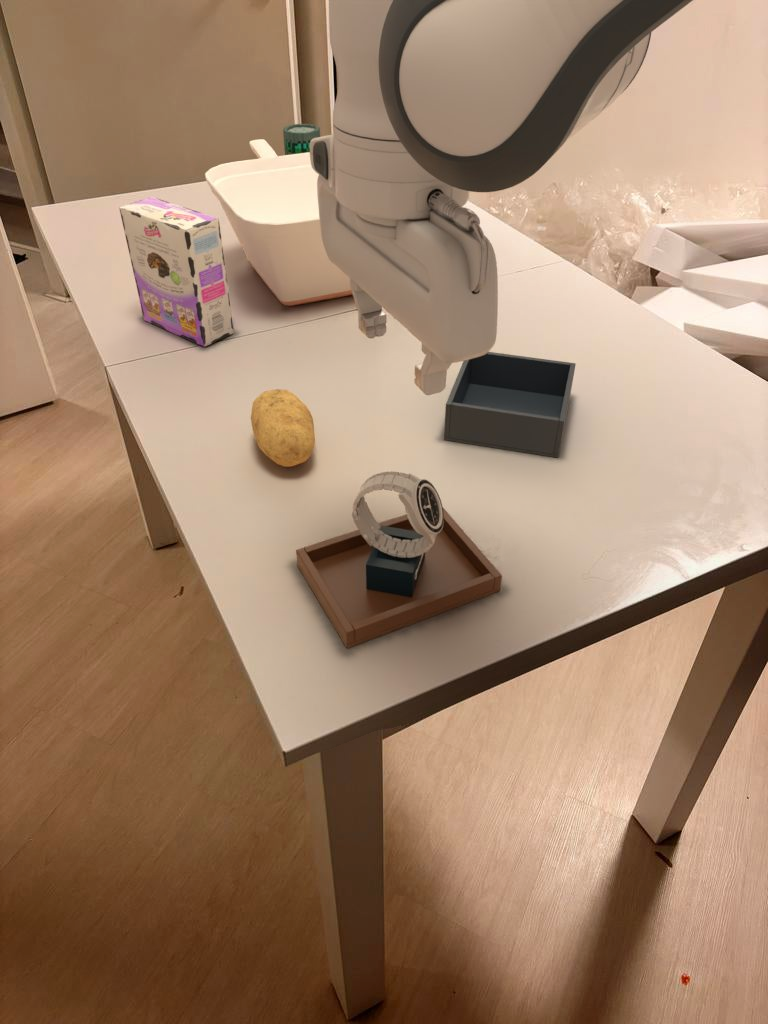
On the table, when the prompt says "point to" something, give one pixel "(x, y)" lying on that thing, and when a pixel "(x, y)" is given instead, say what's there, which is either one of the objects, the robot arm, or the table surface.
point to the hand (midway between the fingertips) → (399, 360)
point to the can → (299, 138)
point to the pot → (279, 223)
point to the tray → (368, 614)
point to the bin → (510, 403)
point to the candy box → (179, 269)
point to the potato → (283, 427)
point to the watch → (398, 532)
